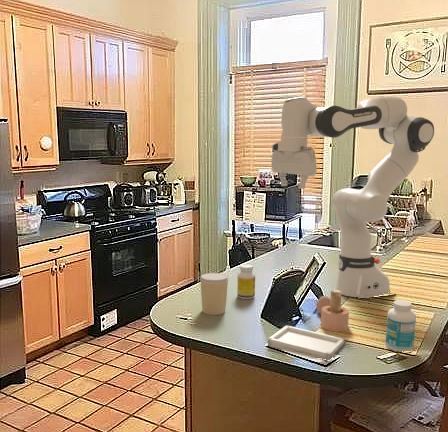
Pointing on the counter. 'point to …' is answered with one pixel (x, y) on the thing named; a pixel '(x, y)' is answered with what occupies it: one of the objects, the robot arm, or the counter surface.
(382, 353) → the counter surface
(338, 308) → the dowel
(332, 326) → the cup
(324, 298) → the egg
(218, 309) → the coffee cup
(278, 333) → the tray
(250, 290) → the pill bottle
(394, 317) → the pill bottle
